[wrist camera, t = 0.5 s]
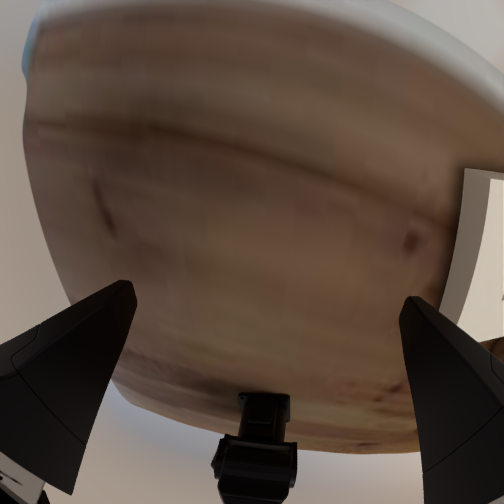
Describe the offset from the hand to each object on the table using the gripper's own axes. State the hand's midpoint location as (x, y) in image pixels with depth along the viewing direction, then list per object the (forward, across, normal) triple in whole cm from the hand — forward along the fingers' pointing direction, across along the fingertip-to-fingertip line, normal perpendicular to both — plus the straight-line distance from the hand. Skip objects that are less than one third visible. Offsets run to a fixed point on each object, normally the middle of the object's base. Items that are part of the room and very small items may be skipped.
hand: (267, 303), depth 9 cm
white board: (+13, -25, +4) cm, 28 cm away
